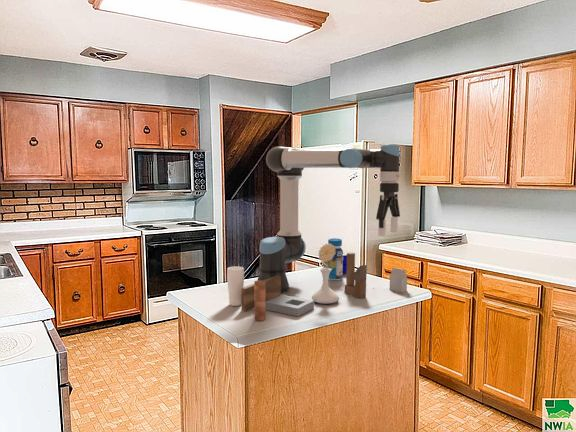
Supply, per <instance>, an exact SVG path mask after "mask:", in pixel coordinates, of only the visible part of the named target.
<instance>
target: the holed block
mask: <svg viewBox="0 0 576 432" xmlns="http://www.w3.org/2000/svg"><path fill="white" fill-rule="evenodd" d="M313 309H315V301H313V300H312V299H308V298H301V297H295V296H290V295H285V294H281V296H278V297H276V298H273V299H271V300H269V301H266V302H265V311H266V310H267V311H270V312H271V311H272V312H275V313H281V314H284V315H289V316H294V317H300V316H302V315H303V314H306V313H307V312H309V311H311V310H313Z"/></svg>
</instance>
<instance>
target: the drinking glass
mask: <svg viewBox="0 0 576 432" xmlns="http://www.w3.org/2000/svg"><path fill="white" fill-rule="evenodd" d="M226 269H227V270H226V278H227V281H226V283H227V291H228V304H229V306H232V307H239V306H241V288H243V287H244V286H245V285H244V283H245V267H243V266H229V267H227V268H226Z"/></svg>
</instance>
